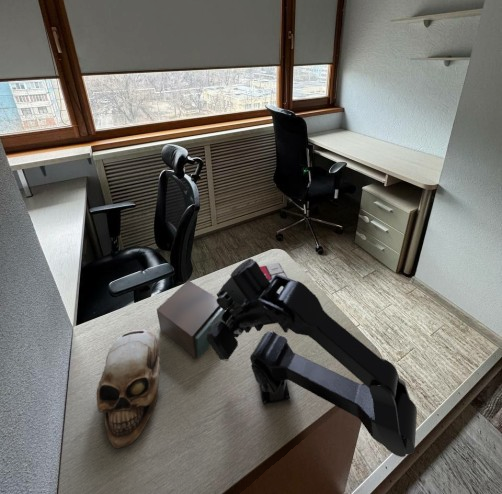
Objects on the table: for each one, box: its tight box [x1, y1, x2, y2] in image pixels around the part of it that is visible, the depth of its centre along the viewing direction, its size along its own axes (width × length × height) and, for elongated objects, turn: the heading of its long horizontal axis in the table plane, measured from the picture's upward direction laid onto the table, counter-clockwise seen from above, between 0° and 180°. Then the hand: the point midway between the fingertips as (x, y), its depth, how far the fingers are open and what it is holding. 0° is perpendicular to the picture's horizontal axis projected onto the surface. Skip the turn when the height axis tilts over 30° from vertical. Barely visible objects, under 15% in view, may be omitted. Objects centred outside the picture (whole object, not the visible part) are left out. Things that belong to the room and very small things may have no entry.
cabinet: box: [156, 279, 220, 360], centre depth 77 cm, size 14×12×9 cm
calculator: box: [259, 262, 288, 294], centre depth 90 cm, size 11×4×15 cm
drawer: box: [194, 307, 226, 358], centre depth 76 cm, size 14×11×7 cm
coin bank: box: [96, 329, 161, 449], centre depth 62 cm, size 16×17×13 cm
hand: (222, 318), depth 68 cm, fingers closed
